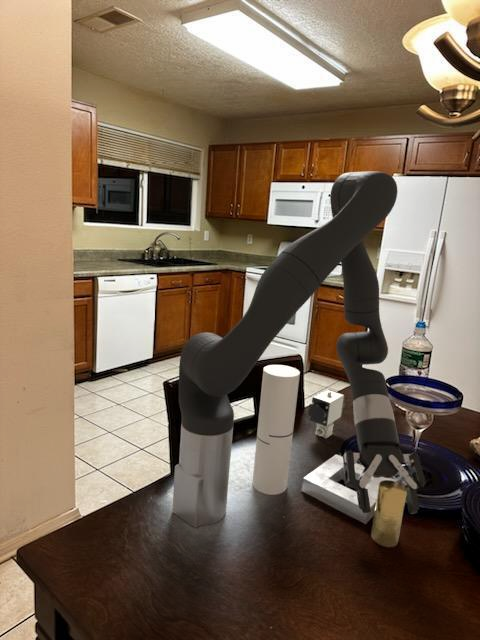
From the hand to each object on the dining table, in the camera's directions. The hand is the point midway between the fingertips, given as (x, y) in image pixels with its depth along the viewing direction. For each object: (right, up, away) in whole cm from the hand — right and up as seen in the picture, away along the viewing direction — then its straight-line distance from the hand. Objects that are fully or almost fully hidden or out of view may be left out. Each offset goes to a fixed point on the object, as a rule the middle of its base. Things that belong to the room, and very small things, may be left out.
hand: (390, 512), depth 77 cm
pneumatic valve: (-5, +3, +39) cm, 40 cm away
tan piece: (-1, -5, +2) cm, 5 cm away
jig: (-4, -2, +14) cm, 15 cm away
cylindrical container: (-20, -1, +15) cm, 25 cm away
